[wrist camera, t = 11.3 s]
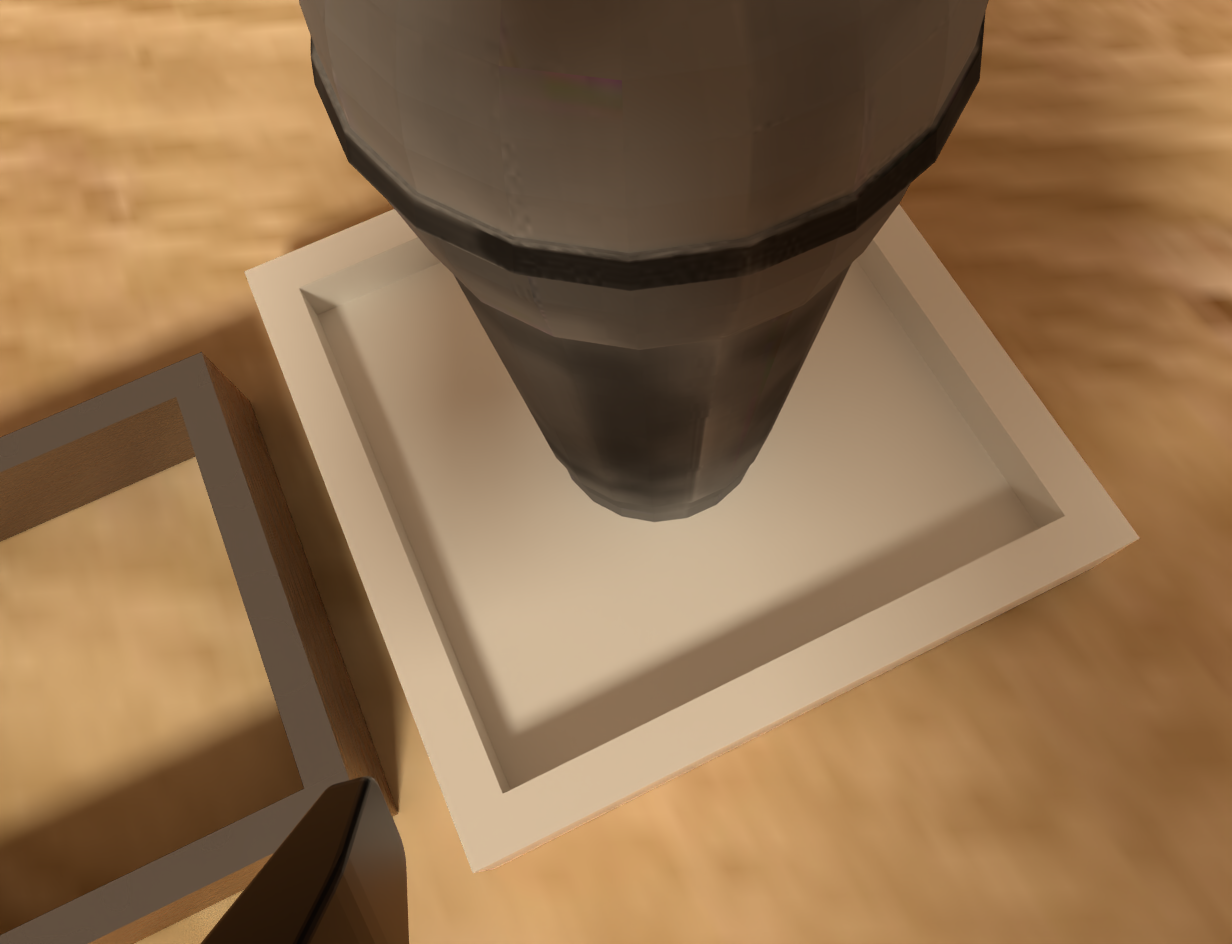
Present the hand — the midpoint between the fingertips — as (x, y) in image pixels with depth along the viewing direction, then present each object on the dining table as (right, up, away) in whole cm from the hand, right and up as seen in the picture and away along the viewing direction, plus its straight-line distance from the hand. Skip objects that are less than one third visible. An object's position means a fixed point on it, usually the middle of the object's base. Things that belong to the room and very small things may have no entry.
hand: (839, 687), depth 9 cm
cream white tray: (-1, +3, +13) cm, 13 cm away
